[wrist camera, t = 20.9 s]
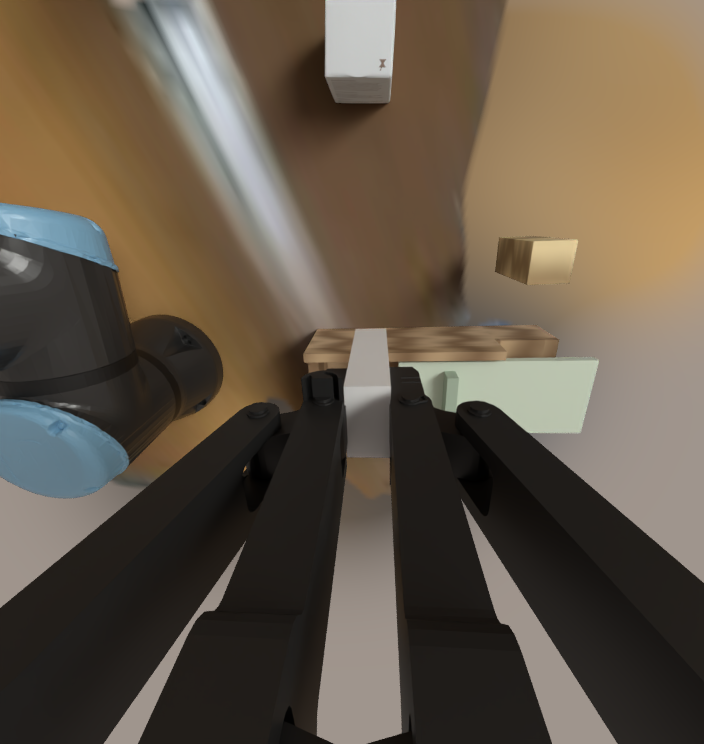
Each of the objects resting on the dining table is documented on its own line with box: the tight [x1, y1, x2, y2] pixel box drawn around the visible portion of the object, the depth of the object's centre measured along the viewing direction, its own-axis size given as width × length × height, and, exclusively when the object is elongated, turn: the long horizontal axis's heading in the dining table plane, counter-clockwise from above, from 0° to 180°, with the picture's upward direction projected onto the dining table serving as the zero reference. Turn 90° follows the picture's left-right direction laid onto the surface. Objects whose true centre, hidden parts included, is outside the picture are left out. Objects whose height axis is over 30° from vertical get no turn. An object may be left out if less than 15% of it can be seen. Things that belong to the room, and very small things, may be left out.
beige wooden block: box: [495, 236, 578, 285], centre depth 38 cm, size 4×4×10 cm
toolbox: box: [303, 325, 559, 373], centre depth 44 cm, size 29×12×10 cm, turn 92°
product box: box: [325, 0, 396, 103], centre depth 33 cm, size 6×6×7 cm
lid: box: [398, 357, 599, 433], centre depth 39 cm, size 21×9×3 cm, turn 92°
